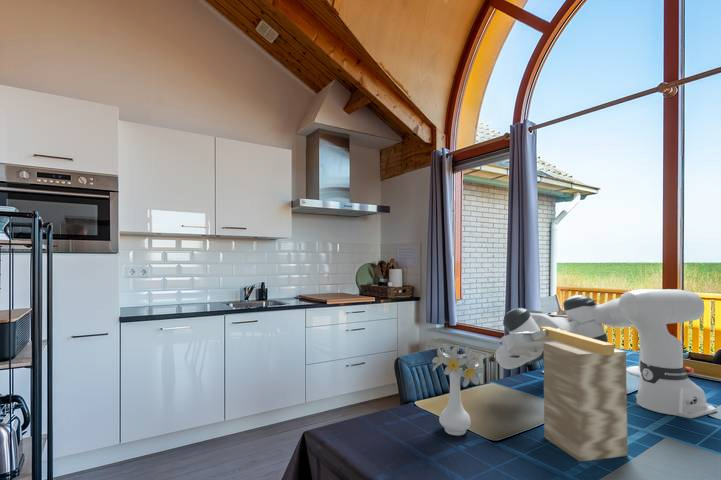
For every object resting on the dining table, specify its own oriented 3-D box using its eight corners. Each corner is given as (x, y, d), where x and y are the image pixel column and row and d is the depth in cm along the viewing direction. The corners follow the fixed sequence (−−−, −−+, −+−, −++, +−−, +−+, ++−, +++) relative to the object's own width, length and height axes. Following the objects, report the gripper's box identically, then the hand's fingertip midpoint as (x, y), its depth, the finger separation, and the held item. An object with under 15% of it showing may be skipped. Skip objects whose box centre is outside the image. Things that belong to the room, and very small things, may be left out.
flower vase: (462, 450, 102) (461, 357, 103) (421, 424, 118) (421, 343, 118) (497, 440, 108) (496, 352, 109) (453, 416, 123) (453, 339, 124)
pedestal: (587, 432, 113) (586, 340, 113) (627, 455, 100) (625, 351, 101) (544, 437, 110) (543, 342, 110) (579, 461, 97) (578, 354, 98)
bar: (548, 334, 121) (548, 326, 121) (614, 354, 98) (614, 344, 98) (539, 335, 120) (539, 326, 121) (603, 355, 97) (603, 345, 97)
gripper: (558, 354, 129) (586, 340, 118) (502, 357, 125) (525, 343, 113) (551, 335, 132) (578, 320, 121) (496, 337, 128) (518, 322, 117)
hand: (552, 331), depth 117 cm, fingers closed on bar, 3 cm apart
